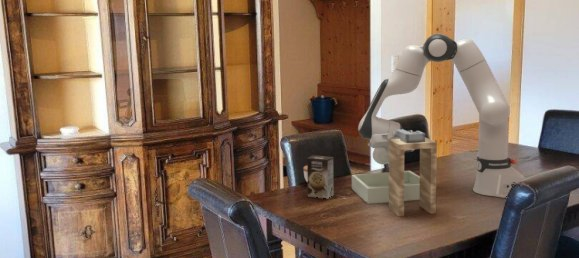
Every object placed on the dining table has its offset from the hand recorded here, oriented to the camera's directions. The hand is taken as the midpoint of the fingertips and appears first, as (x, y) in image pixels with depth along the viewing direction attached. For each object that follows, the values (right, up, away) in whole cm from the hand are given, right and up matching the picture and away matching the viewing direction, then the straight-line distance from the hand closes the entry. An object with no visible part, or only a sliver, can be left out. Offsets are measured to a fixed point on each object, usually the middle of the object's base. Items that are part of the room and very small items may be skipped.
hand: (403, 132), depth 205 cm
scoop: (+1, -2, -4) cm, 5 cm away
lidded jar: (-31, -23, +35) cm, 52 cm away
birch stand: (+2, -29, -4) cm, 29 cm away
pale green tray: (-2, -25, +18) cm, 31 cm away
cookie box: (-30, -26, +17) cm, 43 cm away
